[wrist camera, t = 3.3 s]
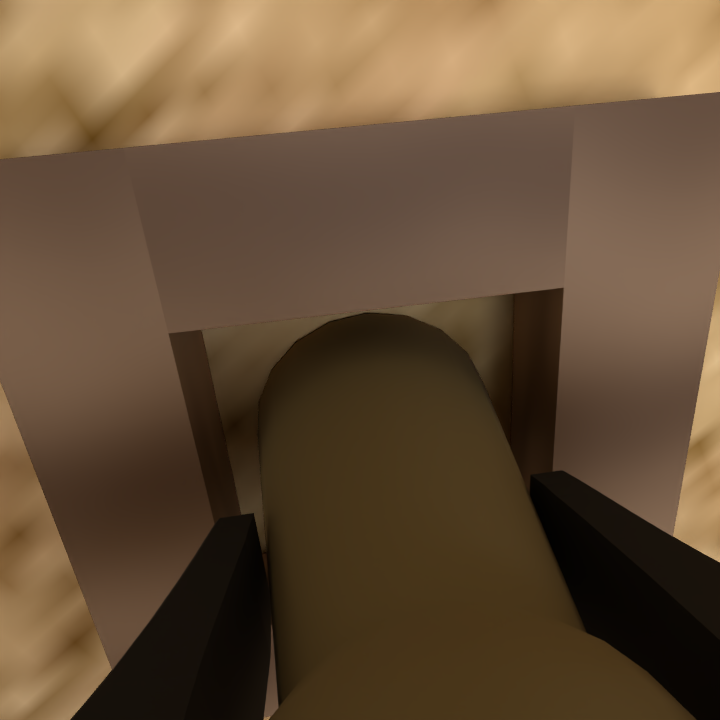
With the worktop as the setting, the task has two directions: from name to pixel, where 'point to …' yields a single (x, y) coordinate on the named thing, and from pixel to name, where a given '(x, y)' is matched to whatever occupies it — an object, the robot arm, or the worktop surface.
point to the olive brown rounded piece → (416, 546)
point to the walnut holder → (350, 303)
